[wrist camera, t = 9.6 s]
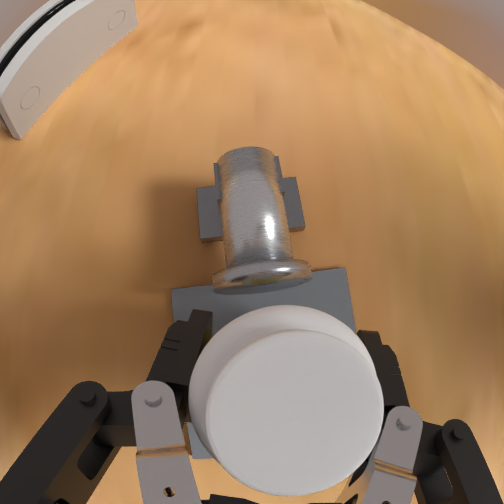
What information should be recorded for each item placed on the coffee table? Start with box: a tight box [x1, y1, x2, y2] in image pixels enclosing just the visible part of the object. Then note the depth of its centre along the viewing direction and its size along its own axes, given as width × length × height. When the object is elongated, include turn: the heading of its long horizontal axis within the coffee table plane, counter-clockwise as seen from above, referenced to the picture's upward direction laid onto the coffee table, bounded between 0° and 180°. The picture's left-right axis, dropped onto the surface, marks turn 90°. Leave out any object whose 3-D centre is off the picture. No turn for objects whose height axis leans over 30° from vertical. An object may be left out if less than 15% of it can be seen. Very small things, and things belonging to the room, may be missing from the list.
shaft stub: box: [197, 147, 312, 295], centre depth 16 cm, size 6×7×6 cm
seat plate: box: [171, 267, 356, 459], centre depth 17 cm, size 10×10×1 cm
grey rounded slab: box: [0, 0, 138, 140], centre depth 20 cm, size 17×5×10 cm, turn 146°
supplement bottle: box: [188, 305, 384, 496], centre depth 11 cm, size 6×6×10 cm
